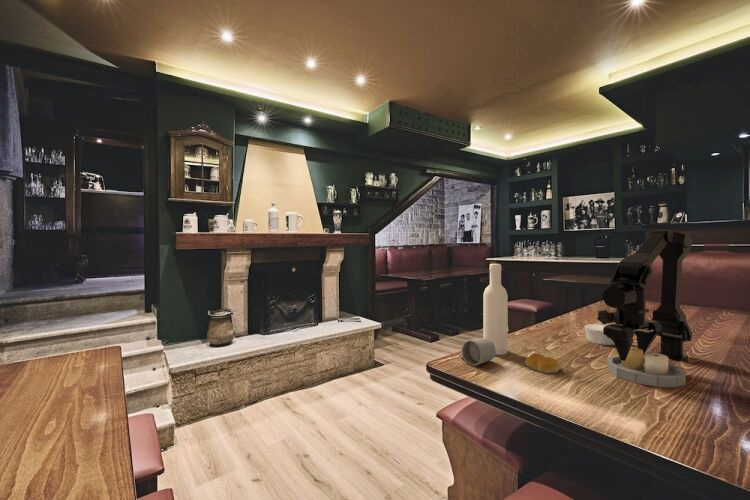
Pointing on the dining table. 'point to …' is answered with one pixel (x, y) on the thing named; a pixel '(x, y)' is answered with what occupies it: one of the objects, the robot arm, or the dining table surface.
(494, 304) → the bottle
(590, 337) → the ramekin
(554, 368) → the bread roll
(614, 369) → the round tray
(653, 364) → the cream bead
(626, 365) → the ochre bead
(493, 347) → the ceramic mug
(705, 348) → the dining table surface
